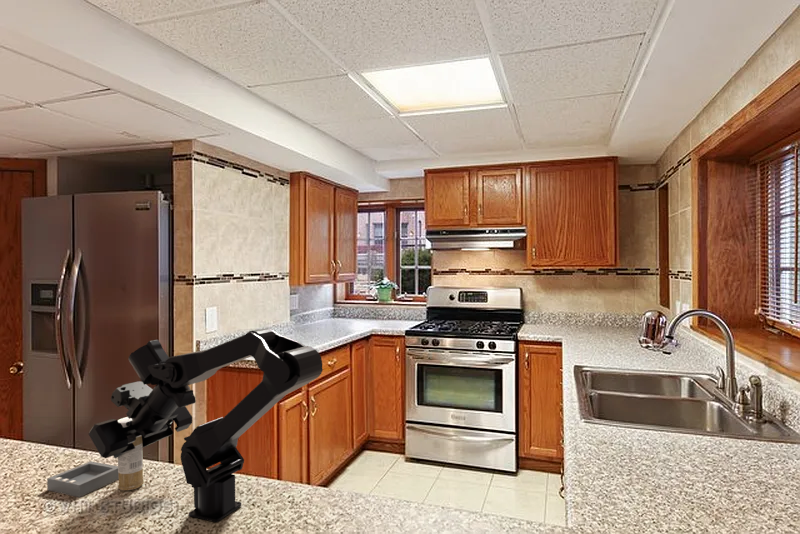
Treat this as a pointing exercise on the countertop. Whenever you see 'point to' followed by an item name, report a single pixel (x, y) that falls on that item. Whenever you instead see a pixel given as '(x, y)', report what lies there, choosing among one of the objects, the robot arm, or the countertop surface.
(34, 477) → the countertop surface
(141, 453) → the sprinkles bottle
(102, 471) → the dish
